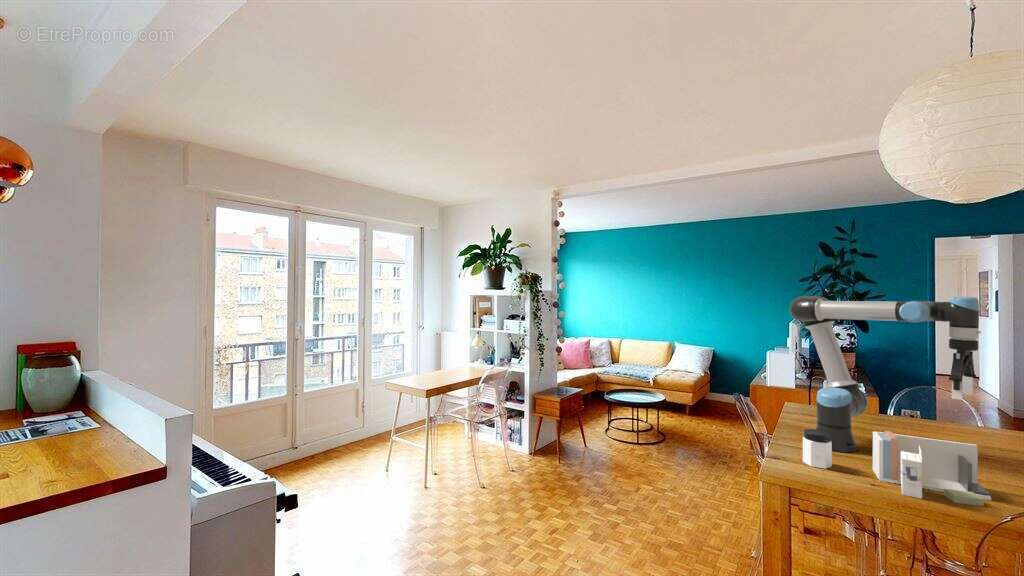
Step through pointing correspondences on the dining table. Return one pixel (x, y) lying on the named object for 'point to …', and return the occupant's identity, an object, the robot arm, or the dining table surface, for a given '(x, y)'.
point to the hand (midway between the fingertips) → (962, 396)
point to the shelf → (924, 460)
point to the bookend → (968, 477)
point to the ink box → (911, 474)
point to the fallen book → (963, 497)
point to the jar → (817, 448)
